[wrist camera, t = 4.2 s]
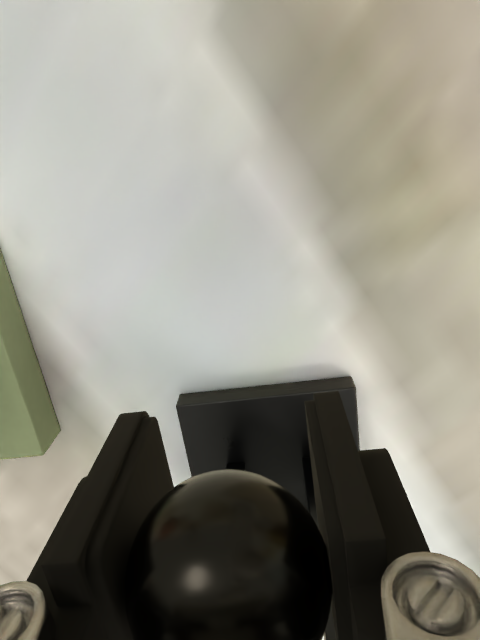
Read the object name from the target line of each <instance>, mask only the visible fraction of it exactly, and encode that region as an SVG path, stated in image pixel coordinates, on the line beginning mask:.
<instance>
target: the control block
mask: <svg viewBox="0 0 480 640" xmlns="http://www.w3.org/2000/svg"><path fill="white" fill-rule="evenodd" d="M59 432H60V427H59V424H58V421H57V418H56V415H55V412H54V409H53V406H52V403H51V400H50V397H49V394H48V391H47V388H46V385H45V382H44V379H43V376H42V373H41V370H40V367H39V364H38V361H37V358H36V355H35V352H34V349H33V346H32V343H31V340H30V337H29V334H28V331H27V328H26V325H25V322H24V319H23V316H22V313H21V310H20V307H19V304H18V301H17V298H16V295H15V292H14V289H13V286H12V283H11V280H10V277H9V274H8V271H7V268H6V265H5V262H4V259H3V256H2V253H1V250H0V459H11V458H21V457H31V456H42V455H44V454H45V452H46V451H47V449H48V448H49V447H50V445H51V444H52V442H53V441H54V439H55V438H56V437H57V435H58V434H59Z"/></svg>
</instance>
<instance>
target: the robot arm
mask: <svg viewBox="0 0 480 640" xmlns="http://www.w3.org/2000/svg"><path fill="white" fill-rule="evenodd" d="M313 399H314V400H310V401H304V403H305V413H306V422H307V431H308V440H309V449H310V458H311V467H312V477H313V486H314V495H315V503H316V511H317V518H318V524H319V531H320V533H321V535H322V537H323V540H324V543H325V545H326V549H327V555H328V561H329V568H330V576H331V584H332V600H331V609H332V616H333V622H334V629H335V635H336V640H480V578H479V577H478V576H477V575H476V574H475V573H474V572H473V571H472V570H471V569H470V568H468V567H467V566H465V565H464V564H462V563H461V562H459V561H458V560H455V559H453V558H450V557H447V556H445V555H442V554H438V553H431V552H430V550H429V548H428V545H427V543H426V540H425V538H424V536H423V533H422V531H421V528H420V526H419V524H418V521H417V519H416V517H415V514H414V512H413V509H412V507H411V505H410V502H409V500H408V497H407V495H406V493H405V490H404V488H403V485H402V483H401V481H400V478H399V476H398V473H397V471H396V469H395V466H394V464H393V462H392V459H391V457H390V454H389V453H388V451H387V450H386V449H385V448H384V449H373V450H363V451H358V450H357V447H356V444H355V441H354V437H353V434H352V431H351V428H350V425H349V422H348V419H347V416H346V412H345V409H344V406H343V403H342V400H341V397H340V394H339V391H332V392H322V393H313ZM173 488H174V486H173V482H172V478H171V474H170V470H169V466H168V462H167V457H166V453H165V449H164V445H163V441H162V437H161V433H160V429H159V425H158V421H157V419H156V417H149V415H148V413H147V412H146V411H143V412H133V413H124V414H120V415H119V417H118V418H117V420H116V422H115V424H114V426H113V428H112V430H111V432H110V434H109V436H108V438H107V440H106V441H105V443H104V445H103V447H102V449H101V451H100V453H99V455H98V457H97V459H96V461H95V462H94V464H93V466H92V468H91V470H90V472H89V474H88V476H86V477H84V478H83V479H82V480H81V481H80V483H79V484H78V486H77V488H76V490H75V491H74V493H73V495H72V497H71V499H70V501H69V503H68V504H67V506H66V508H65V510H64V512H63V514H62V516H61V518H60V519H59V521H58V523H57V525H56V527H55V529H54V531H53V532H52V534H51V536H50V538H49V540H48V542H47V544H46V546H45V547H44V549H43V551H42V553H41V555H40V557H39V559H38V560H37V562H36V564H35V566H34V568H33V570H32V572H31V573H30V575H29V577H28V579H27V581H17V582H10V583H7V584H4V585H0V640H134V639H133V637H132V634H131V630H130V626H129V623H128V619H127V614H126V607H125V574H126V566H127V562H128V557H129V553H130V550H131V547H132V545H133V542H134V539H135V537H136V534H137V532H138V530H139V528H140V526H141V524H142V523H143V521H144V519H145V518H146V516H147V515H148V514H149V512H150V511H151V509H152V508H153V507H154V506H155V505H156V503H157V502H158V501H159V500H160V499H161V498H162V497H163V496H164V495H165V494H166V493H168V492H169V491H170V490H172V489H173Z"/></svg>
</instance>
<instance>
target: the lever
mask: <svg viewBox="0 0 480 640" xmlns="http://www.w3.org/2000/svg"><path fill="white" fill-rule="evenodd" d="M331 600H332V584H331V576H330V568H329V561H328V555H327V549H326V545H325V543H324V540H323V537H322V535H321V533H320V531H319V529H318V527H317V525H316V523H315V521H314V519H313V518H312V516H311V515H310V513H309V512H308V510H307V509H306V508H305V507H304V505H303V504H302V503H301V502H300V501H299V500H298V499H297V498H296V497H295V496H294V495H293V494H292V493H291V492H290V491H288V490H287V489H286V488H285V487H283V486H282V485H280V484H279V483H277V482H275V481H273V480H271V479H269V478H267V477H265V476H263V475H260V474H258V473H254V472H250V471H244V470H237V469H222V470H214V471H209V472H205V473H202V474H199V475H196V476H194V477H192V478H189V479H187V480H185V481H184V482H182V483H180V484H179V485H177V486H176V487H174V488H173V489H172V490H170V491H169V492H168V493H166V494H165V495H164V496H163V497H162V498H161V499H160V500H159V501H158V502H157V503H156V505H155V506H154V507H153V508H152V509H151V511H150V512H149V514H148V515H147V516H146V518H145V519H144V521H143V523H142V524H141V526H140V528H139V530H138V532H137V534H136V537H135V539H134V542H133V545H132V547H131V550H130V553H129V557H128V562H127V566H126V574H125V607H126V614H127V619H128V623H129V626H130V630H131V634H132V637H133V639H134V640H322V638H323V635H324V633H325V629H326V626H327V623H328V619H329V614H330V607H331Z"/></svg>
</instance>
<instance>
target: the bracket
mask: <svg viewBox="0 0 480 640" xmlns="http://www.w3.org/2000/svg"><path fill="white" fill-rule="evenodd" d="M332 391H339V394H340V397H341V400H342V403H343V406H344V409H345V412H346V416H347V419H348V422H349V425H350V428H351V431H352V434H353V437H354V441H355V444H356V447H357V450H358V451H360V449H359V432H358V416H357V400H356V387H355V385H354V382H353V380H352V377H341V378H331V379H322V380H312V381H303V382H293V383H284V384H275V385H265V386H256V387H246V388H237V389H227V390H218V391H208V392H199V393H189V394H181V395H180V396H179V399H178V402H177V405H176V408H177V413H178V417H179V422H180V426H181V431H182V435H183V440H184V444H185V449H186V453H187V458H188V462H189V467H190V471H191V476H192V477H194V476H196V475H199V474H202V473H205V472H209V471H214V470H222V469H237V470H244V471H250V472H254V473H258V474H260V475H263V476H265V477H267V478H269V479H271V480H273V481H275V482H277V483H279V484H280V485H282V486H283V487H285V488H286V489H287V490H288V491H290V492H291V493H292V494H293V495H294V496H295V497H296V498H297V499H298V500H299V501H300V502H301V503H302V504H303V505H304V507H305V508H306V509H307V510H308V512H309V513H310V515H311V516H312V518H313V519H314V521H315V523H316V525H317V527H318V529H319V524H318V518H317V511H316V503H315V495H314V486H313V477H312V467H311V458H310V449H309V440H308V431H307V422H306V413H305V403H304V401H310V400H314V399H313V393H322V392H332ZM324 640H336V635H335V629H334V622H333V616H332V609H331V607H330V614H329V619H328V623H327V626H326V629H325V633H324Z"/></svg>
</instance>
